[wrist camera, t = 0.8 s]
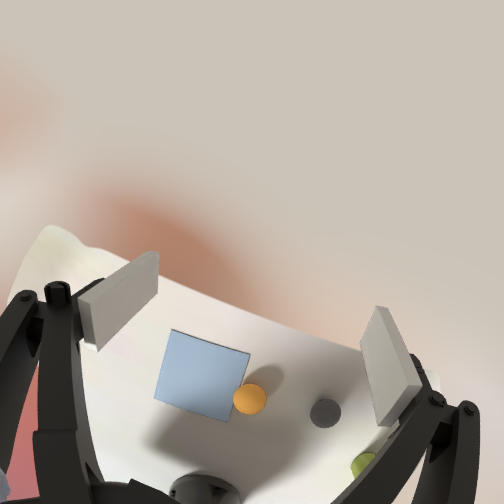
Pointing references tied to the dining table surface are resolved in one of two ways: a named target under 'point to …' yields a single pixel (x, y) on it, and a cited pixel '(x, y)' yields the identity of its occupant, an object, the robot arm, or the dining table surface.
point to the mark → (200, 376)
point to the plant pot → (361, 463)
